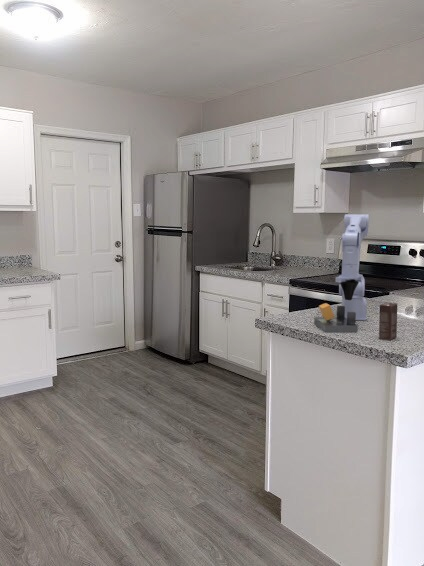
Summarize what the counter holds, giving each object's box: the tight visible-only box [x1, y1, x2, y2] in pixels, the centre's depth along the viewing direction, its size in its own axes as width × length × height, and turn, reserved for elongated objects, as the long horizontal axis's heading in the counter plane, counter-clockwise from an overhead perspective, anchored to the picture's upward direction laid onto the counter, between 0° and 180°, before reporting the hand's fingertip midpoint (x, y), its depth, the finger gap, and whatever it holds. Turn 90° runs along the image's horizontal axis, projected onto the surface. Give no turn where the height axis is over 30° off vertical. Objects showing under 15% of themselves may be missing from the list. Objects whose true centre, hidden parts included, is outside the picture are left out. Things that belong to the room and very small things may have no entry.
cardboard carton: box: [318, 302, 335, 322], centre depth 183 cm, size 3×6×6 cm, turn 3°
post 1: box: [336, 305, 345, 319], centre depth 190 cm, size 3×3×4 cm
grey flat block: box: [313, 316, 359, 334], centre depth 184 cm, size 12×15×3 cm
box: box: [378, 302, 398, 341], centre depth 168 cm, size 6×4×12 cm
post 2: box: [347, 312, 357, 326], centre depth 178 cm, size 3×3×4 cm
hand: (348, 299), depth 185 cm, fingers closed
